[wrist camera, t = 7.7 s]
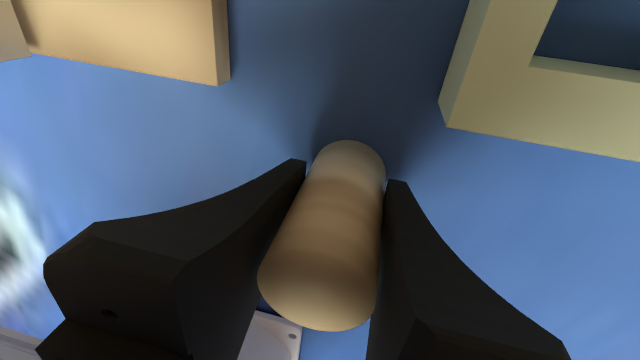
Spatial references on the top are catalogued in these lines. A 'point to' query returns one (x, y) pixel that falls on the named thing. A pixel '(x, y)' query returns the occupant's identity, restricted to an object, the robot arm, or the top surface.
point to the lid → (11, 34)
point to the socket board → (536, 86)
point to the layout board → (133, 35)
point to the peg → (329, 242)
